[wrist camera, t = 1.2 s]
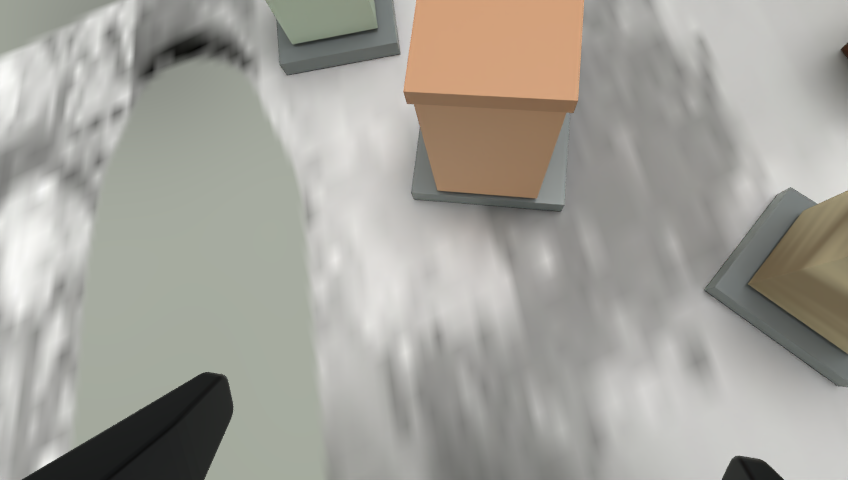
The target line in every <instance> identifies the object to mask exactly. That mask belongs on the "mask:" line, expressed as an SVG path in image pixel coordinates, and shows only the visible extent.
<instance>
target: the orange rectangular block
mask: <svg viewBox="0 0 848 480" xmlns="http://www.w3.org/2000/svg"><path fill="white" fill-rule="evenodd" d="M583 9H584V0H416V7H415V14H414V21H413V28H412V35H411V42H410V49H409V56H408V63H407V70H406V77H405V84H404V91H403V92H404V95H405V98H406V102H407V104H414V106H415V110H416V114H417V117H418V121H419V125H420V128H421V132H422V136H423V139H424V143H425V147H426V150H427V154H428V158H429V161H430V165H431V169H432V172H433V176H434V180H435V184H436V187H437V191H449V192H462V193H474V194H487V195H499V196H512V197H524V198H537V197H538V194H539V191H540V188H541V185H542V182H543V180H544V177H545V174H546V171H547V168H548V165H549V162H550V159H551V156H552V154H553V151H554V148H555V145H556V142H557V139H558V136H559V133H560V130H561V127H562V125H563V122H564V119H565V116H566V113H574V110H575V107H576V105H577V102H578V92H579V75H580V59H581V42H582V25H583Z"/></svg>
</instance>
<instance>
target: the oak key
mask: <svg viewBox="0 0 848 480" xmlns="http://www.w3.org/2000/svg"><path fill="white" fill-rule="evenodd" d="M748 285H750V286H751V287H753V288H754V289H755V290H757V291H758V292H760V293H761V294H763V295H764V296H766V297H767V298H768V299H770V300H771V301H773V302H774V303H776V304H777V305H778V306H780V307H781V308H783V309H784V310H786V311H787V312H788V313H790V314H791V315H793V316H794V317H796V318H797V319H798V320H800V321H801V322H803V323H804V324H806V325H807V326H808V327H810V328H811V329H813V330H814V331H816V332H817V333H819V334H820V335H821V336H823V337H824V338H826V339H827V340H829V341H830V342H831V343H833V344H834V345H836V346H837V347H839V348H840V349H841V350H843V351H844V352H846V353H847V354H848V191H846V192H843V193H841V194H839V195H837V196H835V197H832V198H830V199H828V200H826V201H824V202H821V203H819V204H817V205H815V206H813V207H810V208H808V209H806V210H804V211H803V212H802V213H801V214H800V215H799V217H798V218H797V219H796V221H795V222H794V223H793V225H792V226H791V227H790V229H789V230H788V231H787V233H786V234H785V235H784V237H783V238H782V239H781V241H780V242H779V243H778V245H777V246H776V247H775V249H774V250H773V251H772V253H771V254H770V255H769V257H768V258H767V259H766V261H765V262H764V263H763V264H762V266H761V267H760V268H759V270H758V271H757V272H756V274H755V275H754V276H753V278H752V279H751V280H750V282H749V283H748Z"/></svg>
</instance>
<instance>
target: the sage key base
mask: <svg viewBox="0 0 848 480" xmlns="http://www.w3.org/2000/svg"><path fill="white" fill-rule="evenodd" d="M374 1H375V9H376V17H377V25H378V28H376V29H370V30H365V31H360V32H355V33H350V34H344V35H339V36H334V37H329V38H323V39H318V40H313V41H308V42H303V43H297V44H292V43H291V42H290V40H289V38H288V37H287V35H286V33H285V32H284V30H283V28H282V27H281V25H280V24H279V22H278V20H277V19H276V20H277V34H278V48H279V63H280V66H281V67H282V69H283V70H284V71H285V73H286V74H287V75H290V74H295V73H300V72H306V71H311V70H317V69H322V68H327V67H333V66H338V65H343V64H349V63H354V62H359V61H365V60H370V59H375V58H381V57H386V56H392V55H397V54H400V48H399V40H398V33H397V26H396V18H395V11H394V4H393V0H374Z"/></svg>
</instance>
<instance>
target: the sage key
mask: <svg viewBox="0 0 848 480" xmlns="http://www.w3.org/2000/svg"><path fill="white" fill-rule="evenodd" d="M265 1H266V2H267V4H268V5H269V7H270V9H271V10H272V12H273V14H274V15H275V17H276V19H277V20H278V22H279V24H280V25H281V27H282V28H283V30H284V32H285V33H286V35H287V37H288V38H289V40H290V42H291V43H292V44H297V43H303V42H308V41H313V40H318V39H323V38H329V37H334V36H339V35H344V34H350V33H355V32H360V31H365V30H370V29H376V28H378V25H377V17H376V9H375V1H374V0H265Z"/></svg>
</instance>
